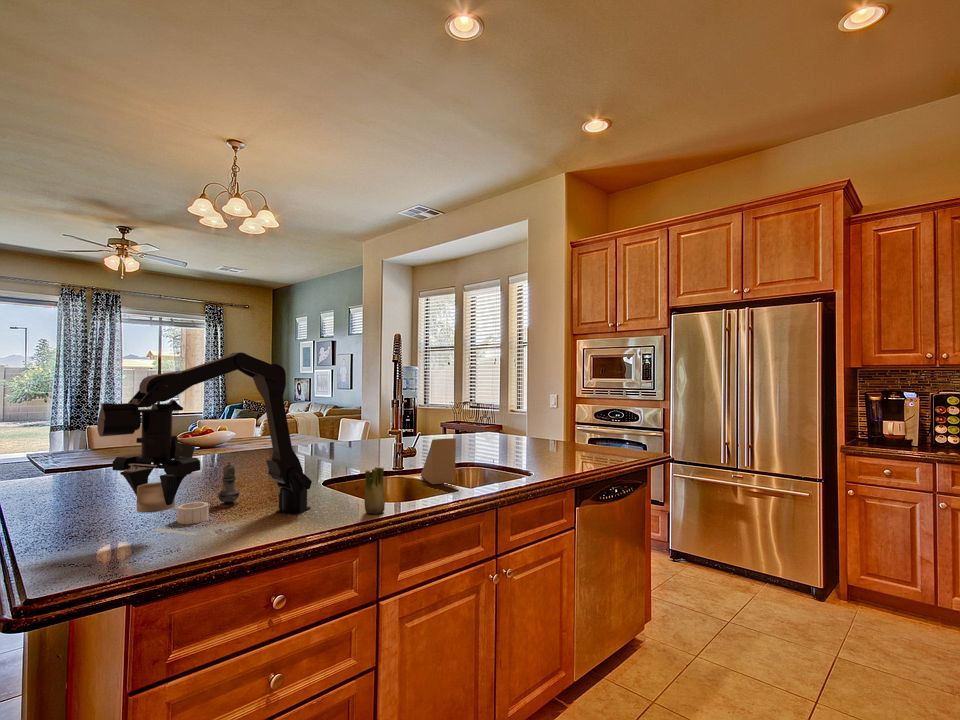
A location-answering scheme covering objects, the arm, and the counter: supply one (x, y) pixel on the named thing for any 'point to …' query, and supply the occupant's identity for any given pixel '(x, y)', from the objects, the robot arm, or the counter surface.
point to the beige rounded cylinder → (151, 498)
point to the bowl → (192, 512)
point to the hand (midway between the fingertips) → (156, 503)
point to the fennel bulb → (374, 491)
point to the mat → (175, 531)
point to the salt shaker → (228, 487)
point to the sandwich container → (440, 462)
